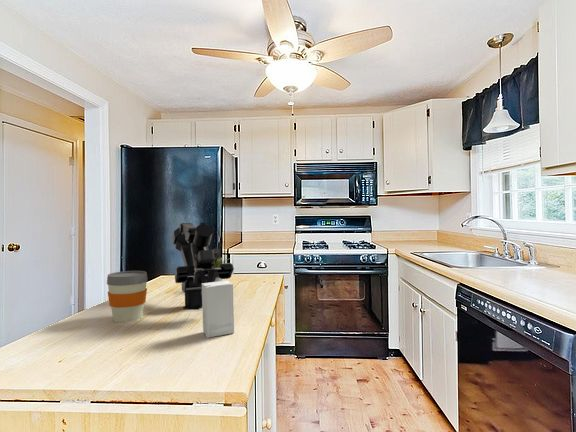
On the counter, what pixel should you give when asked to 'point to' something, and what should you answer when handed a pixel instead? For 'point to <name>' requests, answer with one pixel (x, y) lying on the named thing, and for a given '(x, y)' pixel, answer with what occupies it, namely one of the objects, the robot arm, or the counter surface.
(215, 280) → the house plant
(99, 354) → the counter surface
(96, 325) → the counter surface
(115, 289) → the reusable coffee cup
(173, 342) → the counter surface
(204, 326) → the skincare box
